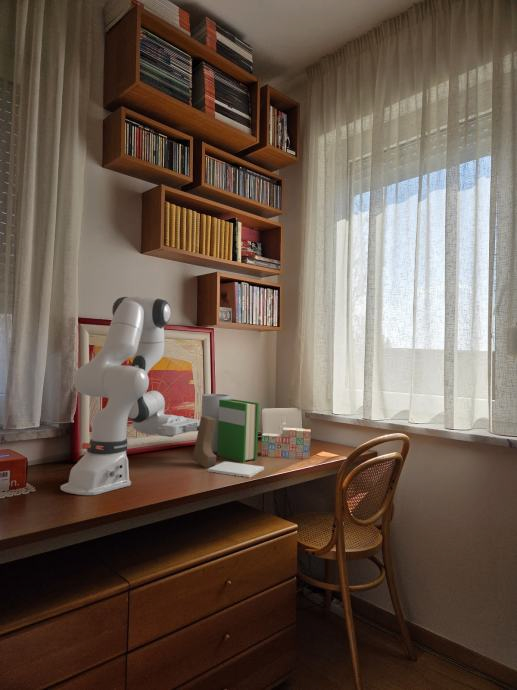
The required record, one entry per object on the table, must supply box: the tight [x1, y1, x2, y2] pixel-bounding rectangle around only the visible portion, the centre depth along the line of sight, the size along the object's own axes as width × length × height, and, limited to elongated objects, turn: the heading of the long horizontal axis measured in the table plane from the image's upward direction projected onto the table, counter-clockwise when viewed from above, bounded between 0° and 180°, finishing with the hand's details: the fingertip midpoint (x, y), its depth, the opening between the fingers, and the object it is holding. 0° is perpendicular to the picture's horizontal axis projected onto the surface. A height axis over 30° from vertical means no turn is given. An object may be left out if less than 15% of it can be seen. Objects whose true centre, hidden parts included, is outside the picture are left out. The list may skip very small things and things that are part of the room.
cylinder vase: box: [200, 393, 230, 453], centre depth 211 cm, size 12×12×25 cm
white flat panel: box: [207, 460, 265, 478], centre depth 174 cm, size 14×17×1 cm
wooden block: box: [192, 416, 217, 469], centre depth 180 cm, size 9×4×18 cm, turn 44°
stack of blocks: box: [260, 427, 312, 460], centre depth 203 cm, size 21×6×12 cm, turn 83°
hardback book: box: [216, 398, 260, 464], centre depth 197 cm, size 18×7×24 cm, turn 42°
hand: (198, 428), depth 182 cm, fingers closed
